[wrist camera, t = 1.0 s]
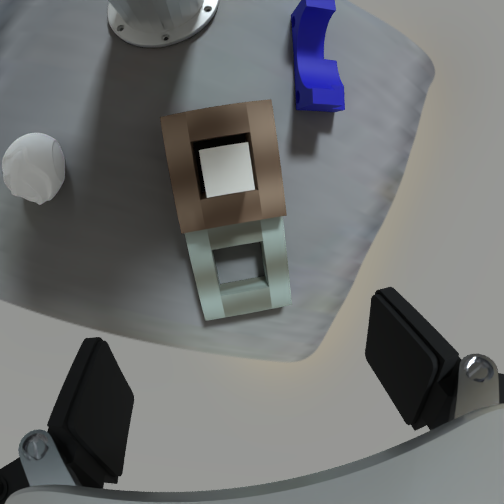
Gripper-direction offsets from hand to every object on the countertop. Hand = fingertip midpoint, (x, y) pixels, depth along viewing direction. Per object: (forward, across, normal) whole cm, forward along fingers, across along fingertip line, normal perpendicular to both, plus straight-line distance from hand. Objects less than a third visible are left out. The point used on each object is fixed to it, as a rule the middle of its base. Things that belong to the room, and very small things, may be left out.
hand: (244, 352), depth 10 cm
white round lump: (+25, +19, -8) cm, 32 cm away
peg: (+24, -1, -4) cm, 25 cm away
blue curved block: (+25, -12, -14) cm, 31 cm away
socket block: (+24, -1, +2) cm, 24 cm away
